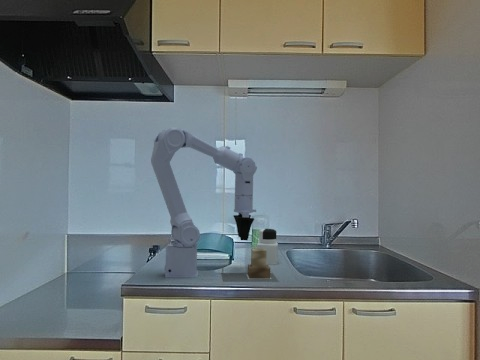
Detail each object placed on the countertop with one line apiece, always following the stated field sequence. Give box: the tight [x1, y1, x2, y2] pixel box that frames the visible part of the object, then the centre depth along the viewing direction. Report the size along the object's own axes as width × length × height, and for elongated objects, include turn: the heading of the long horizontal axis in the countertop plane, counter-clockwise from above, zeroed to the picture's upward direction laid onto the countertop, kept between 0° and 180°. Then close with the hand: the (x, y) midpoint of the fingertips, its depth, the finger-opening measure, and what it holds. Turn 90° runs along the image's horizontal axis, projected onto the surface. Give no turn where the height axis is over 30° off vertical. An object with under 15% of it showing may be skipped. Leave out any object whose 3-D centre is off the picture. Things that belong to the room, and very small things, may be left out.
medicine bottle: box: [256, 228, 279, 266], centre depth 164 cm, size 7×7×12 cm
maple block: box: [250, 248, 266, 268], centre depth 141 cm, size 4×4×5 cm
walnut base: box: [247, 263, 271, 279], centre depth 141 cm, size 6×6×3 cm
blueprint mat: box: [220, 272, 280, 283], centre depth 139 cm, size 16×12×1 cm
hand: (242, 238), depth 149 cm, fingers open, 7 cm apart
